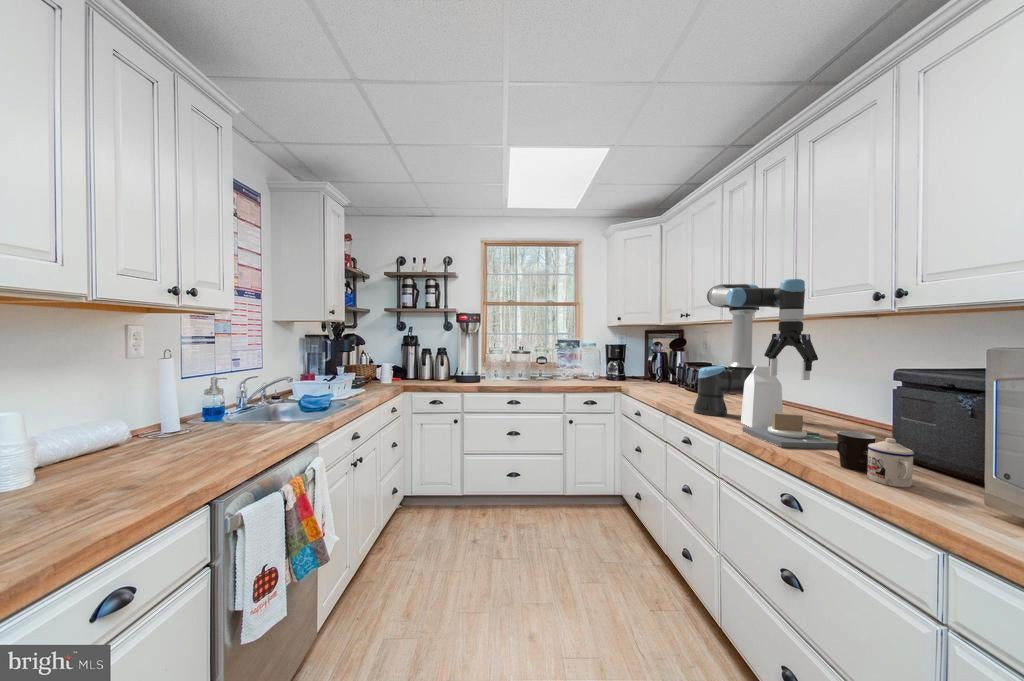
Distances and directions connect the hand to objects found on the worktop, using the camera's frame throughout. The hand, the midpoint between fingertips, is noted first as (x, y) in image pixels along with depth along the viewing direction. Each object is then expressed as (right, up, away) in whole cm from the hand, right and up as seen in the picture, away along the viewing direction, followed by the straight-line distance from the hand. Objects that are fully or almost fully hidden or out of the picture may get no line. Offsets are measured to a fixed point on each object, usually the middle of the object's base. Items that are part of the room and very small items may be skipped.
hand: (788, 377), depth 146 cm
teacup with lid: (-3, -24, -43) cm, 49 cm away
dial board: (-1, -23, 0) cm, 23 cm away
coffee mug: (-4, -24, -31) cm, 39 cm away
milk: (+4, -23, +22) cm, 33 cm away
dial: (+1, -21, 0) cm, 21 cm away
